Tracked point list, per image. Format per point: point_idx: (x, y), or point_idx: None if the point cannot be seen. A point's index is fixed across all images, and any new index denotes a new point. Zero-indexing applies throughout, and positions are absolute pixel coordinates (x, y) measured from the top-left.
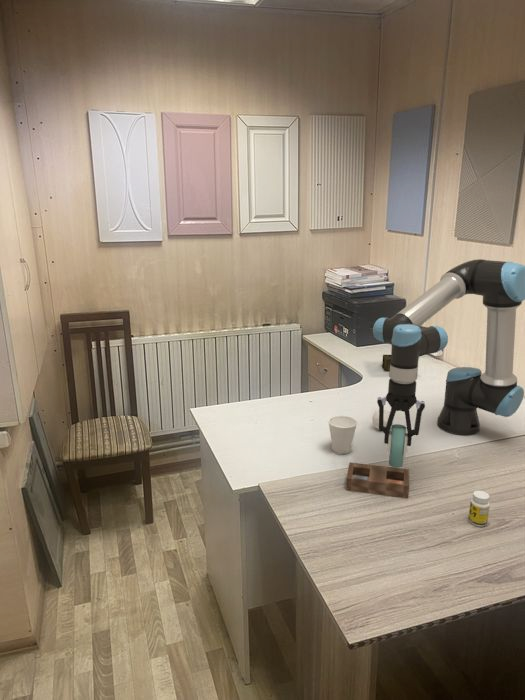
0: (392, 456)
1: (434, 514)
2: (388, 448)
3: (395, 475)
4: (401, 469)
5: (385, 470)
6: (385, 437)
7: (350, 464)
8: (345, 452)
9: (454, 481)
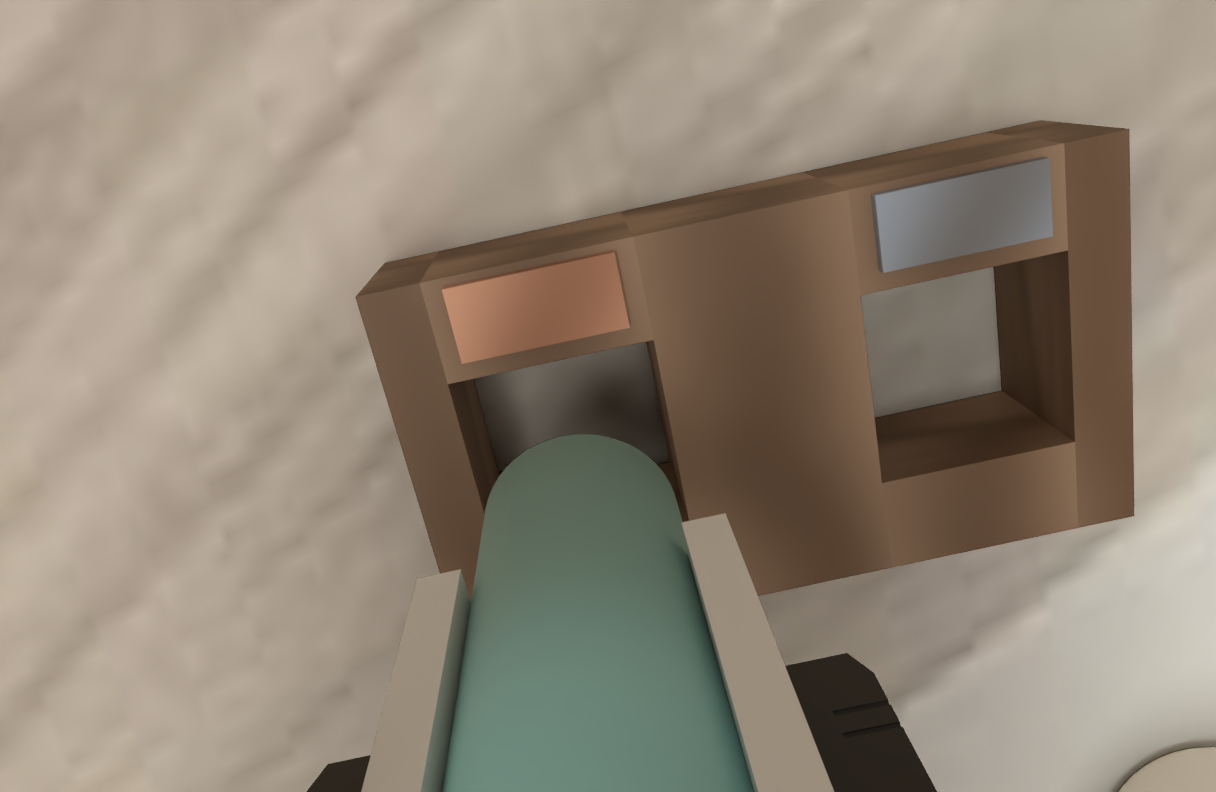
0: (634, 516)
1: (40, 74)
2: (740, 585)
3: None
4: None
5: None
6: (893, 756)
7: (1118, 473)
8: (1150, 777)
9: (76, 756)
